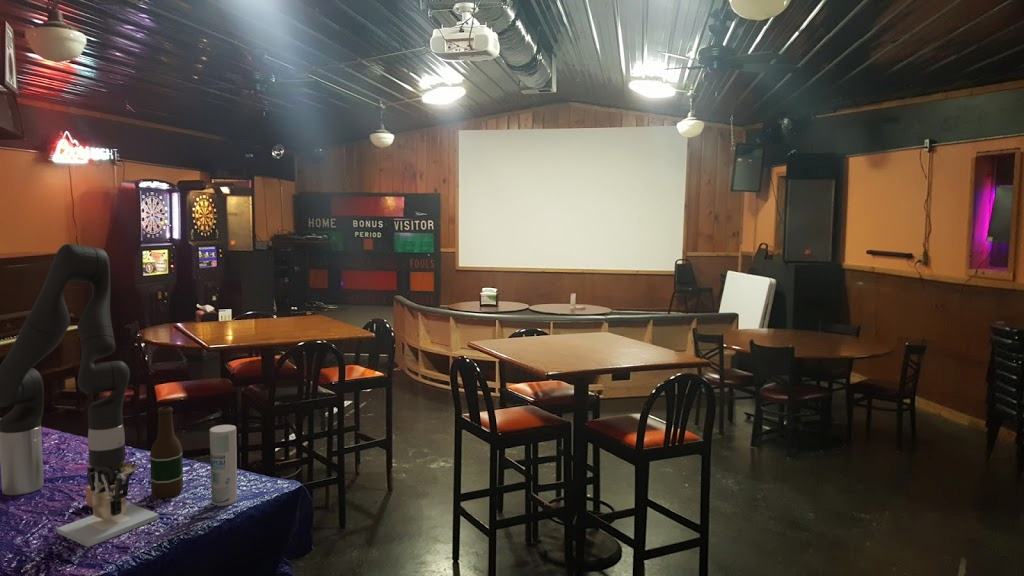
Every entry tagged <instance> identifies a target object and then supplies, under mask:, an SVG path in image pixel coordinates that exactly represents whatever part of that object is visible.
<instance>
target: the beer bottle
mask: <svg viewBox="0 0 1024 576" xmlns="http://www.w3.org/2000/svg"><path fill="white" fill-rule="evenodd" d="M173 411H174V409H173V407H172V406H160V407H159V408H158V409H157V412H156V414H158V417H157V418H158V421H157V422H158V423H157V434H156V435H157V436H156V438H155V440H154V441H153V443H152V446H151V448H150V454H149V455H150V456H149V461H150V462H149V463H150V490H151V496H152V497H154V498H155V499H159V500H161V499H170V498H173V497H177V496H179V495H180V494H181V493H182V491H183V490H184V469H183V468H184V466H183V465H184V464H183V463H184V462H183V460H184V459H183V447H182V444H181V442H180V440H179V438H178V437H177V436H176V435H175V431H174V421H173V420H174V419H173Z"/></svg>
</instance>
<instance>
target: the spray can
mask: <svg viewBox="0 0 1024 576" xmlns="http://www.w3.org/2000/svg"><path fill="white" fill-rule="evenodd" d="M237 449H238V448H237V426H235V425H232V424H221V425H220V424H219V425H215V426H212V427H211V428H210V429H209V450H210V451H209V452H210V486H211V487H210V488H211V489H210V490H211V504H212V505H213V504H214V505H213V506H216V505H217V506H218V507H222V506H228V505H229V506H230V505H232V504H234V503H236V502H237V500H238V482H237V481H238V480H237V479H238V474H237V473H238V470H237V469H238V468H237V467H238V466H237V465H238V463H237V461H238V459H237V453H238V452H237Z"/></svg>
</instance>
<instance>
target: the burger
mask: <svg viewBox="0 0 1024 576" xmlns="http://www.w3.org/2000/svg"><path fill="white" fill-rule="evenodd" d="M120 468H121V472H122V473H121V474H123V475H127V474H128V475H130V474H132V473H133V472H134V471H136V469H137V468H138V465H137V464H136V463H132V462H126V461H124V462H122V463H121V464H120Z"/></svg>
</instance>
